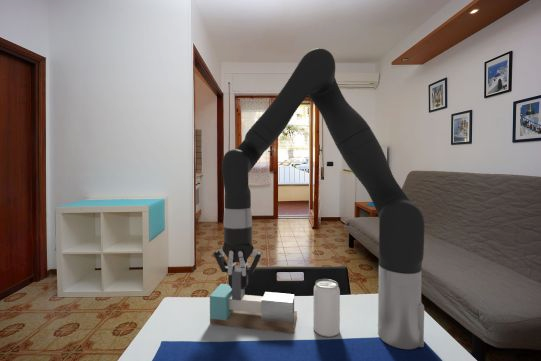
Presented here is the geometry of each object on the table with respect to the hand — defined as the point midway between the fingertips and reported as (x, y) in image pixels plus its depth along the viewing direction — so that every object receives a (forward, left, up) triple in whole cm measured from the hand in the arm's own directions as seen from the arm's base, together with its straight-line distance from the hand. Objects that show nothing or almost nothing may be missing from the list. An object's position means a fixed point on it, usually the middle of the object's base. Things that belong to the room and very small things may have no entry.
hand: (238, 287), depth 74 cm
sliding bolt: (-2, 0, -6) cm, 6 cm away
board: (-4, 0, -9) cm, 10 cm away
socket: (+4, 0, -7) cm, 8 cm away
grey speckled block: (-11, 0, -7) cm, 13 cm away
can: (-23, +1, -9) cm, 25 cm away
